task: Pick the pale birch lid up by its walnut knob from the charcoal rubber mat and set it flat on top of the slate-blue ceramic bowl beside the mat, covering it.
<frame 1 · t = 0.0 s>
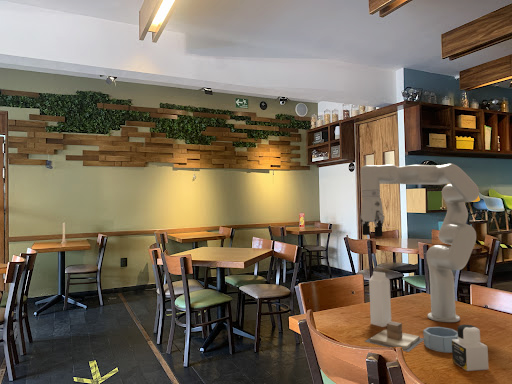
hand: (372, 235, 159), 37 cm above the table, tool pointing down, fingers open, 9 cm apart
bowl: (442, 347, 132), on the table
mat: (394, 341, 139), on the table
lid: (394, 340, 139), point 1 cm above the table, touching mat
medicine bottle: (470, 366, 117), on the table
milk: (381, 325, 158), on the table
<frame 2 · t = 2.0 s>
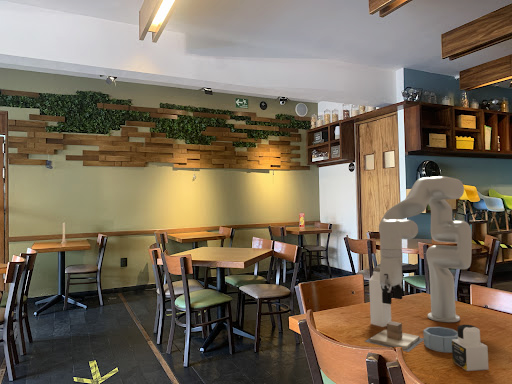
hand: (392, 301, 139), 15 cm above the table, tool pointing down, fingers open, 9 cm apart
nothing on the table moved.
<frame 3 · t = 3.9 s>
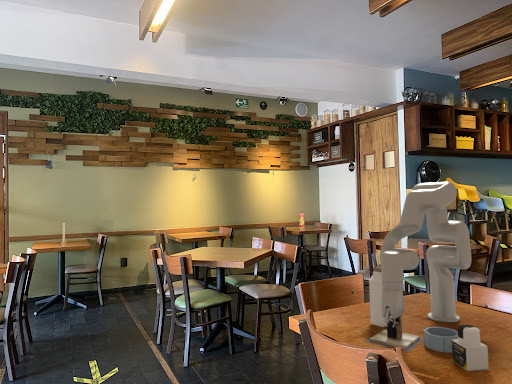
hand: (394, 335, 139), 2 cm above the table, tool pointing down, fingers closed on lid, 4 cm apart
lid: (394, 340, 139), point 1 cm above the table, touching gripper, mat
everything else where it was.
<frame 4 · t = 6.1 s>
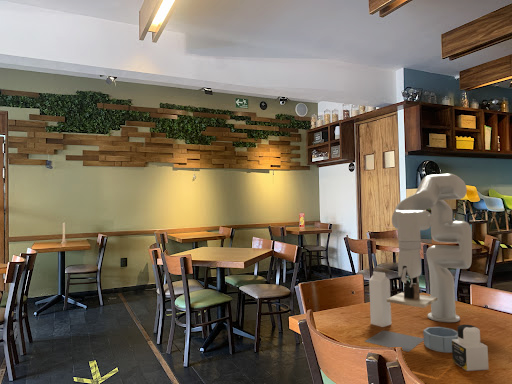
hand: (411, 296, 137), 17 cm above the table, tool pointing down, fingers closed on lid, 4 cm apart
lid: (412, 300, 137), point 15 cm above the table, touching gripper
everything else where it was.
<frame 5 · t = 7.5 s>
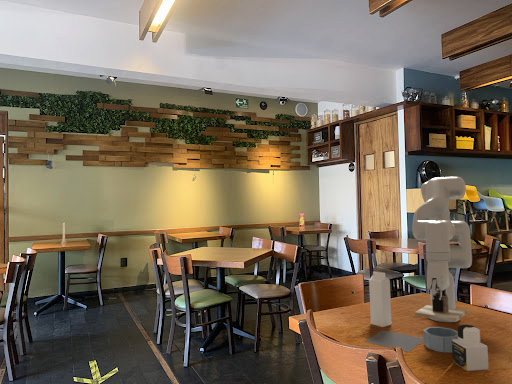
hand: (440, 309, 132), 13 cm above the table, tool pointing down, fingers closed on lid, 4 cm apart
lid: (440, 314, 132), point 12 cm above the table, touching gripper
everything else where it was.
when the fingers open (9 cm above the table, at t = 8.6 s): lid drops 1 cm, resting on bowl.
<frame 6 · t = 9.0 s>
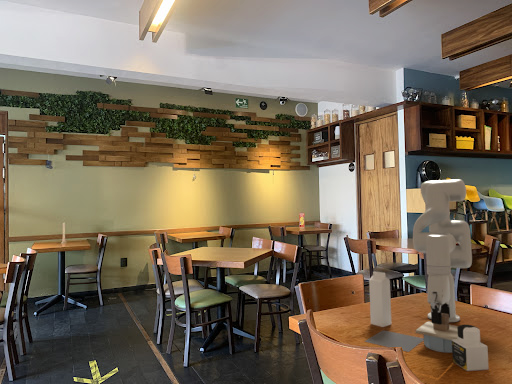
hand: (440, 320, 132), 9 cm above the table, tool pointing down, fingers open, 8 cm apart
lid: (441, 331, 132), point 5 cm above the table, touching bowl
everything else where it was.
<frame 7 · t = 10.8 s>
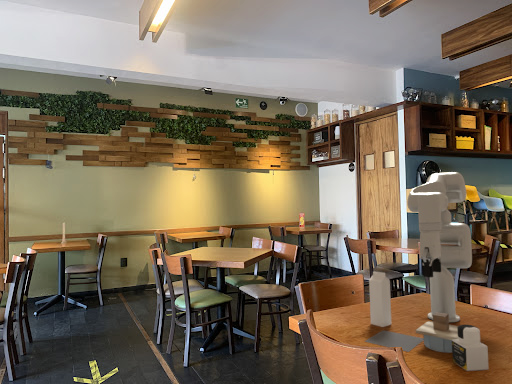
hand: (432, 274, 139), 24 cm above the table, tool pointing down, fingers open, 9 cm apart
nothing on the table moved.
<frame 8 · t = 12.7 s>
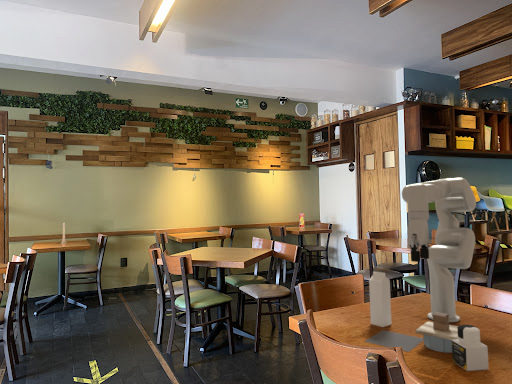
hand: (420, 259, 148), 28 cm above the table, tool pointing down, fingers open, 9 cm apart
nothing on the table moved.
at the end: lid 0.1 cm off-centre on the bowl, point 5.5 cm above the bowl's base; lid tilted 0°; the gripper is holding nothing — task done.
